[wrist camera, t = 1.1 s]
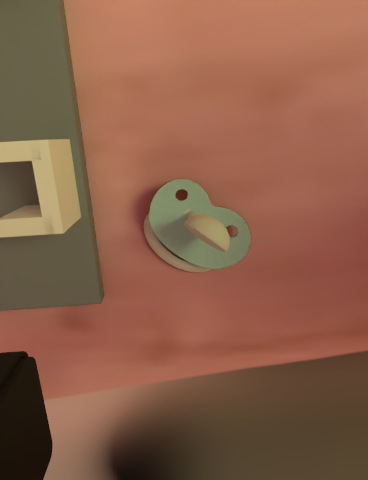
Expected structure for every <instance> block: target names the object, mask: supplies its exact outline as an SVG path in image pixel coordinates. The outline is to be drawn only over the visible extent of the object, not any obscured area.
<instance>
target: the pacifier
mask: <svg viewBox="0 0 368 480" xmlns="http://www.w3.org/2000/svg"><path fill="white" fill-rule="evenodd" d="M180 189H184V190H186V191H187V193H188V195H187V198H186V199H184V200H178V199H177V198H176V197H175V194H176V192H177V191H178V190H180ZM230 225H233V226H235V227H236V228H237V234H236V235H235V236H233V237H230V236H229V233H228V231H227V229H226V227H227V226H230ZM144 233H145V237H146V239H147V241H148V243H149V245H150V247H151V248H152V249H153V250H154V251H155V253H156V254H157V255H158V256H159V257H161V258H162V259H163V260H164V261H166V262H167V263H169V264H171V265H172V266H174V267H176V268H179V269H182V270H185V271H189V272H196V273H197V272H206V271H209V270H211V269H222V268H226V267H229V266H232V265H234V264H236V263H238V262H239V261H240V260H242V258H243V257H244V256H245V255H246V254H247V252H248V250H249V247H250V243H251V235H250V230H249V228H248V225H247V223H246V222H245V221H244V219H243V218H242V217H241V216H240V215H238V214H237V213H235V212H234V211H232V210H230V209H227V208H223V207H215V206H213V205H212V204H211V203H210V199H209V197H208V195H207V193H206V192H205V191H204V189H203V188H202V187H201V186H200V185H199V184H197V183H195V182H193V181H191V180H187V179H177V180H172V181H170V182H168V183H166V184H165V185H163V186H162V187H161V188H160V189H159V190H158V191H157V193H156V194H155V196H154V197H153V200H152V202H151V206H150V212H149V213H148V214H147V216H146V218H145V220H144ZM169 249H170V250H169Z"/></svg>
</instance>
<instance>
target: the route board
mask: <svg viewBox="0 0 368 480" xmlns="http://www.w3.org/2000/svg"><path fill="white" fill-rule="evenodd" d="M103 297H104V293H103V285H102V278H101V271H100V264H99V256H98V249H97V242H96V235H95V227H94V220H93V213H92V206H91V198H90V191H89V184H88V177H87V169H86V162H85V155H84V148H83V140H82V133H81V126H80V119H79V112H78V104H77V97H76V90H75V83H74V75H73V68H72V61H71V54H70V46H69V39H68V32H67V25H66V17H65V10H64V3H63V0H0V311H3V310H17V309H31V308H45V307H59V306H73V305H87V304H101V302H102V300H103Z"/></svg>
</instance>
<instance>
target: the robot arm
mask: <svg viewBox="0 0 368 480" xmlns="http://www.w3.org/2000/svg"><path fill="white" fill-rule="evenodd" d="M51 454H52V438H51V433H50V429H49V424H48V419H47V414H46V409H45V405H44V399H43V394H42V390H41V385H40V380H39V375H38V370H37V365H36V361H35V359H34V358H33V357H28V354H27V353H26V352H24V351H22V352H6V353H0V480H43V478H44V475H45V473H46V470H47V467H48V464H49V462H50V458H51Z"/></svg>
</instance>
